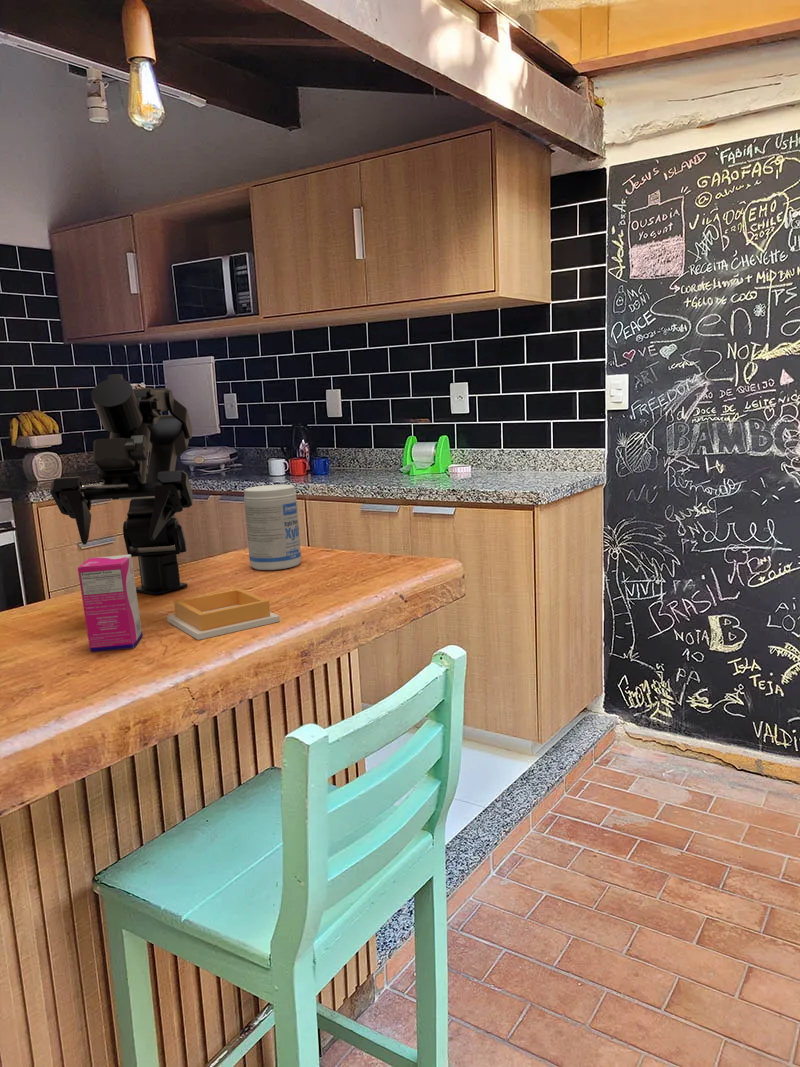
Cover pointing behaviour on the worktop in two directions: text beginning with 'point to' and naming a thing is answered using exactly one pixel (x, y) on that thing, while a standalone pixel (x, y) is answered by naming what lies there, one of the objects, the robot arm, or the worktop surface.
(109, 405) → the robot arm
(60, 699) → the worktop surface
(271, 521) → the supplement tub
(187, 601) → the collar socket
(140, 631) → the supplement box
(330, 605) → the worktop surface
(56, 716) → the worktop surface
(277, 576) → the worktop surface
